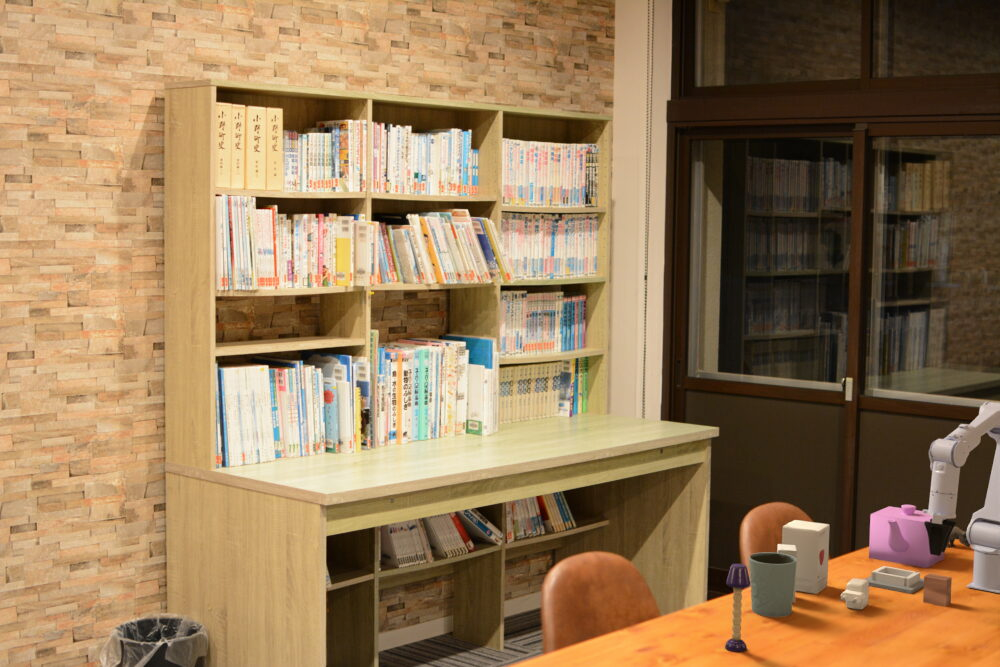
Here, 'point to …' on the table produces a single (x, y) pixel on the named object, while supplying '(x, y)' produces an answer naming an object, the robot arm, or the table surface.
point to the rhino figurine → (958, 537)
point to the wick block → (937, 589)
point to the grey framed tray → (896, 579)
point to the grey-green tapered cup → (772, 583)
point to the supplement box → (809, 553)
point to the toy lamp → (737, 604)
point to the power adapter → (856, 594)
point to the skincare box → (793, 552)
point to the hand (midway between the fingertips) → (937, 553)
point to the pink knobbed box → (901, 537)
